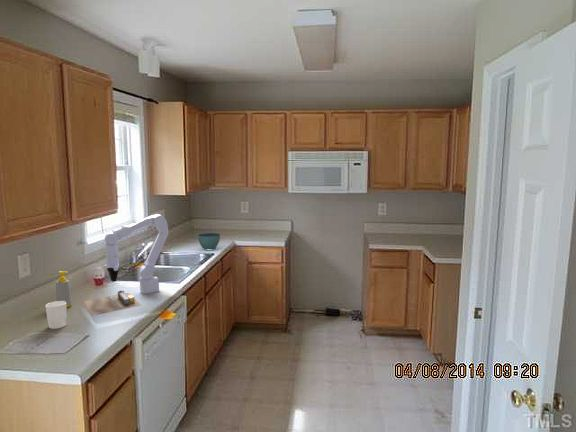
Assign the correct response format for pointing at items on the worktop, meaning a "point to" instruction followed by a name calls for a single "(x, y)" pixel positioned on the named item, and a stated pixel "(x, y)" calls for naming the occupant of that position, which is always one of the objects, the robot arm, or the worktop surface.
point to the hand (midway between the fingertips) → (113, 281)
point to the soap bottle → (63, 290)
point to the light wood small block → (131, 299)
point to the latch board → (108, 304)
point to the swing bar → (123, 297)
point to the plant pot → (209, 240)
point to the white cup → (56, 314)
